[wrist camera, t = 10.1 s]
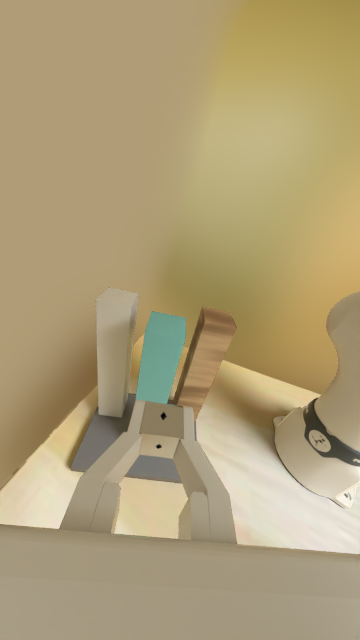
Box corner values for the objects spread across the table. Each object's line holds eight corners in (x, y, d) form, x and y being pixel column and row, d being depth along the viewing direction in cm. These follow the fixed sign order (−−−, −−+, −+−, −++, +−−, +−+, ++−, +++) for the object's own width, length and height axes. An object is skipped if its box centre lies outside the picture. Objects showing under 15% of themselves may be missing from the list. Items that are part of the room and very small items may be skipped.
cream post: (121, 417, 40) (131, 306, 26) (98, 414, 40) (95, 299, 26) (127, 398, 44) (138, 293, 30) (107, 394, 44) (108, 287, 30)
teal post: (154, 448, 36) (185, 337, 22) (129, 445, 36) (145, 330, 22) (157, 423, 41) (185, 317, 27) (135, 420, 40) (151, 311, 26)
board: (196, 485, 34) (198, 481, 34) (71, 470, 32) (70, 466, 32) (193, 407, 48) (194, 403, 47) (105, 393, 46) (105, 389, 45)
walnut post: (192, 427, 41) (236, 327, 27) (170, 424, 41) (205, 321, 27) (191, 407, 46) (229, 312, 32) (171, 404, 45) (202, 306, 31)
